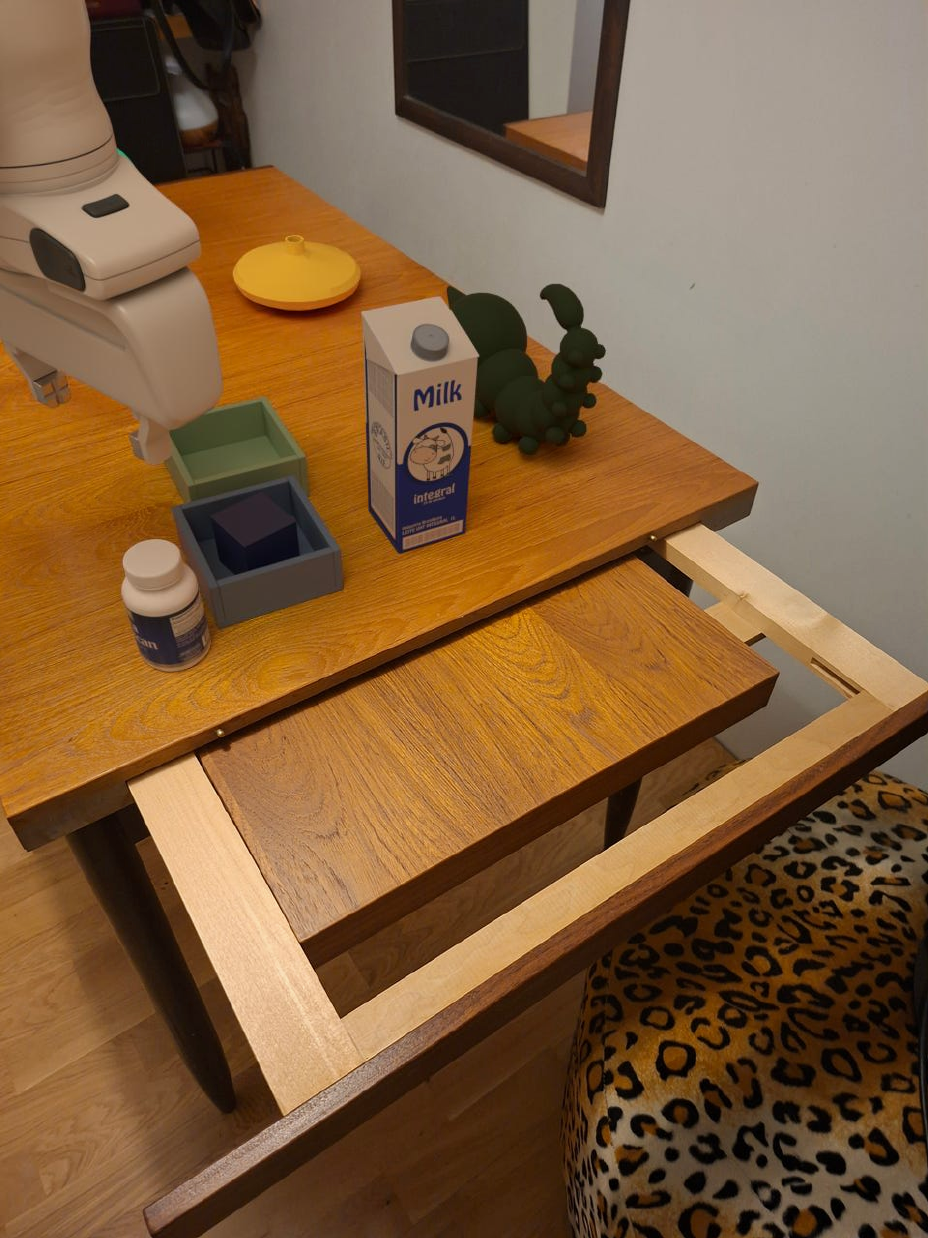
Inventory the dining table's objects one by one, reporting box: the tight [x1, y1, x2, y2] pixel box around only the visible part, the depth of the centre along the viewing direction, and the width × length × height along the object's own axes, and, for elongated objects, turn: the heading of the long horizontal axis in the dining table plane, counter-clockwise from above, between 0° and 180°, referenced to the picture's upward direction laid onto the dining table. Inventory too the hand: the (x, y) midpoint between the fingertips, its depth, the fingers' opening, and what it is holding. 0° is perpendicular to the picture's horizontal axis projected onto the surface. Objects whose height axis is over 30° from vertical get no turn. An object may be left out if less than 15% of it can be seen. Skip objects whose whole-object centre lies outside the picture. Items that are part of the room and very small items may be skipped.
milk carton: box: [360, 295, 479, 554], centre depth 73 cm, size 7×7×20 cm
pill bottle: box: [120, 538, 212, 673], centre depth 65 cm, size 5×5×10 cm
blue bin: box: [170, 475, 344, 629], centre depth 74 cm, size 11×11×5 cm
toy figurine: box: [446, 283, 607, 457], centre depth 87 cm, size 9×19×25 cm
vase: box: [231, 234, 362, 312], centre depth 107 cm, size 16×16×7 cm
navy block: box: [210, 492, 300, 575], centre depth 73 cm, size 5×5×5 cm
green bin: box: [163, 396, 311, 504], centre depth 82 cm, size 11×11×5 cm
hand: (102, 428), depth 54 cm, fingers open, 8 cm apart
